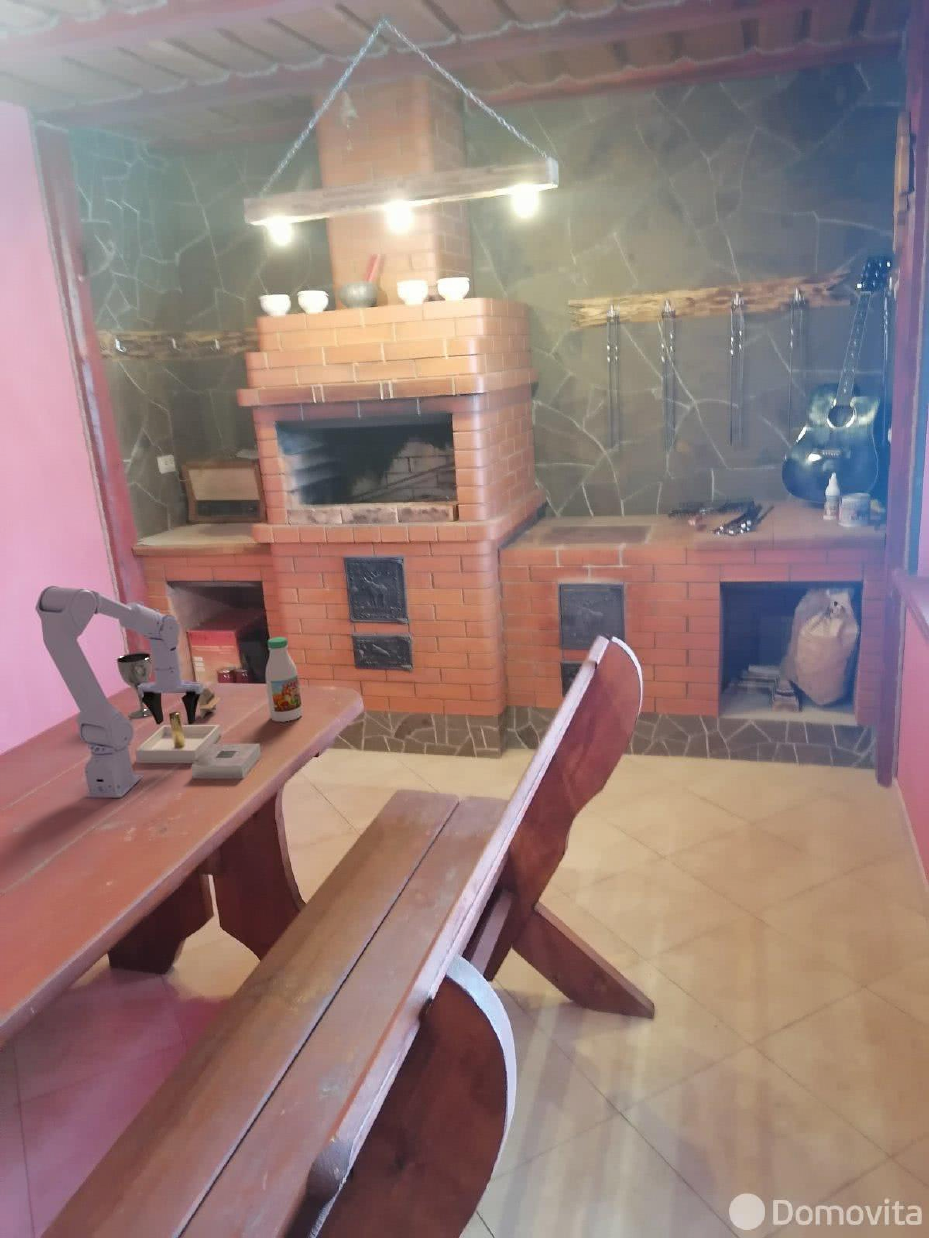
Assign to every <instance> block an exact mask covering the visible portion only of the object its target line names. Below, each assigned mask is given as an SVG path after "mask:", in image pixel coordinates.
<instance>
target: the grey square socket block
mask: <svg viewBox="0 0 929 1238" xmlns="http://www.w3.org/2000/svg"><path fill="white" fill-rule="evenodd" d="M260 745H261V744H260V743H215V744H211V745H210V747H209V748H208V749H207V750H206V751H205V752H204V753H203V754H202V755H201V756H200V757H199V758H198V759H197V760H196V761H195V762H194V763H191V772H192V773H191V774H192V777H193V779H194V780H195V779H199V780H201V779H203V780H205V779H206V780H207V779H210V780H213V779H214V780H215V779H216V780H218V779H220V780H221V779H222V780H223V779H225V780H226V779H227V780H228V779H233V780H239V779H240V780H243V779H244V778H245V777H246V776H247V775H246V774H248V773H249V772H250V771H251V770H250V769H252V768H253V767H254V766H255V765H256V764H257V762H258V761H259V759H260V758H261V757H262V753H261V746H260ZM260 756H261V757H260ZM257 760H258V761H257ZM254 764H255V765H254ZM249 770H250V771H249Z"/></svg>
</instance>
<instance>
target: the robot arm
mask: <svg viewBox="0 0 929 1238" xmlns="http://www.w3.org/2000/svg"><path fill="white" fill-rule="evenodd" d="M34 609H35V611H36V613H37V614H38V617H39V618H40V621H41V631H42V639H43V644H44V645H45V646H44V647H45V648H46V649H47V652H48V653H49V655H50V657H51V659H52V661H53V662H54V664H55V666H56V669H57V670H58V672H59V674H60V676H61V678H62V680H63V681H64V683H65V685H66V687H67V689H68V691H69V692H70V694H71V697H72V698H73V700H74V702H75V704H76V706H77V707H78V709H79V713H78V714H77V716H76V717H75V721H76V722H77V726H78V734H79V738H80V739H81V741H83V742H84V743H86V744H87V748H88V749H89V750H90V758H89V760H88V761H87V763H85V766H84V774H85V779H86V784H87V790H88V792H87V793H86V794H85V797H86V798H122V797H123V796H125V795H126V793H128V792H129V791H130V790H131V789H132V788H133V787H134V786H135V785H136V784H137V783H138V782H139V781H140V780H141V779H142V778H143V775H142V774H134V770H133V766H132V761H131V760H132V759H131V753H130V749H129V746H130V745H131V741H132V740H133V737H134V731H135V730H134V729H135V728H134V725H133V723H132V721H131V720H130V719H128V718H126V717H125V716H124V714H123V713H122V711H121V709H119V708H117V707H116V706H114V705H113V704H111V702H109V701H108V698H107V697H106V694H105V692H104V691H103V688H102V685H100V683H99V680H98V679H97V676H96V675H95V673H94V671H93V669H92V668H91V665H90V663H89V661H88V660H87V657H86V656H85V653H84V652H83V650H82V647H81V645H80V643H79V641H78V637H80V636H81V635H82V634H83V633H84V631H85V629H86V628H87V626H88V624H89V623H90V622H91V620H92V619H93V617H94V615H99V614H101V615H104V616H107V617H110V618H113V619H117V620H118V622H119V624H120V626H121V627H122V628H123V629H126V630H130V631H132V632H135V633H137V634H140V635H142V637H143V638H144V639H148V644H149V650H150V657H151V664H152V668H153V669H152V670H153V675H154V680H155V682H147V683H143V684H140V685H139V686H138V693H139V694H142V695H143V697H142V698H141V699H142V702H143V705H145V706H146V708H148V709H149V710H150V712H151V713H152V717H153V720H154V721H155V723H156V725H161V724H162V723H163V722H164V713H163V707H162V694H184V695H183V696H182V697H181V702H182V703H183V706H184V709H185V712H186V719H187V720H186V721H187V723H188V725H194V723H195V722H196V715H197V707H198V705H199V697H200V695H201V692H202V691H203V685H204V684H203V682H195V681H188V680H183V674H182V669H181V660H180V656H179V655H180V654H179V648H178V646H179V643H180V642H179V636H180V632H181V623H179V621H178V620H177V619H176V617H175V616H174V615H172V614H169V613H168V614H165V613H161V612H160V610H159V609H157V608H149V607H148V606H145V602H142V601H137V600H136V601H133V602H128V603H126V604H125V603H122V602H120V601H118V600H116V599H113V598H111V597H109V596H107V595H105V594H102V593H101V592H99V591H96V590H91V589H89V588H85V587H81V588H73V587H61V586H60V587H59V586H56V585H50V586H47V587H45V588H44V589H43V590H42V591H41V592H40V595H39V597H38V600H37V602H36V605H35V608H34Z"/></svg>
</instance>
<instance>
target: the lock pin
mask: <svg viewBox="0 0 929 1238" xmlns="http://www.w3.org/2000/svg"><path fill="white" fill-rule="evenodd" d="M168 715H169V716H168V717H169V722H170V725H171V729H172V735H173V741H174V747H175V748H177V749H178V748H183V747H185V740H184V733H183V727H182V725H183V721H182V716H181V712H180V711H172V712H169V713H168Z"/></svg>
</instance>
